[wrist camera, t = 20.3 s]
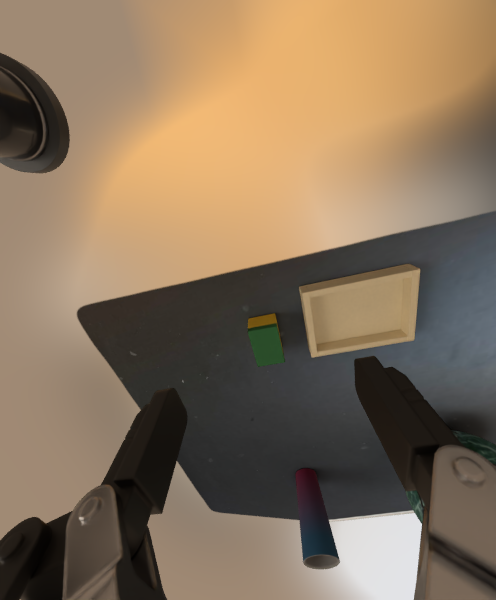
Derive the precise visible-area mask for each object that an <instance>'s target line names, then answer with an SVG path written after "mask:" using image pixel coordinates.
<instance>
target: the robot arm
mask: <svg viewBox="0 0 496 600" xmlns="http://www.w3.org/2000/svg"><path fill="white" fill-rule="evenodd" d="M48 140H49V127H48V121H47V117H46V114H45V112H44V109H43V107H42V105H41V103H40V101H39V99H38V98H37V96H36V95H35V93H34V92H33V91H32V89H31V88H30V87H29V86H28V85H27V84H26V83H25V82H24V81H23V80H22V79H21V78H20V77H18V76H17V75H16V74H14V73H13V72H11V71H9V70H7V69H5V68H3V67H1V66H0V158H8V159H11V160H17V161H31V160H34V159H37V158H38V157H40V156H41V155H42V154H43V152H44V151H45V149H46V147H47V144H48ZM354 366H355V387H356V392H357V395H358V398H359V400H360V402H361V404H362V406H363V408H364V410H365V412H366V414H367V416H368V418H369V420H370V422H371V424H372V426H373V428H374V430H375V432H376V434H377V436H378V437H379V439H380V441H381V443H382V445H383V447H384V449H385V451H386V453H387V455H388V457H389V459H390V461H391V463H392V465H393V467H394V469H395V471H396V473H397V475H398V477H399V479H400V481H401V483H402V485H403V487H404V489H405V491H416V490H417V491H418V493H419V495H420V497H421V499H422V500H423V502H424V511H423V521H422V531H421V542H420V552H419V562H418V572H417V582H416V589H415V595H414V600H496V464H493V463H491V462H490V461H489V460H487V459H486V458H485V457H483V456H482V455H480V454H479V453H477V452H475V451H473V450H471V449H468V448H466V447H465V446H464V445H463V444H462V443H461V442H460V441H459V440H458V439H457V437H456V436H455V435H454V434H453V432H452V431H451V430H450V429H449V428H448V426H447V425H446V424H445V423H444V421H443V420H442V419H441V418H440V417H439V415H438V414H437V413H436V412H435V411H434V409H433V408H432V407H431V406H430V404H429V403H428V402H427V401H426V400H424V398H423V396H422V395H421V393H420V392H419V391H418V390H416V388H415V386H414V385H413V384H412V383H411V381H410V380H409V379H408V378H407V376H406V375H404V374H403V373H401V372H400V371H398V370H396V369H395V368H393V367H388V368H384V367H383V366H382V364H381V363H380V362H379V360H378V359H377V358H376V357H375V356H371V357H365V358H358V359H355V361H354ZM186 425H187V412H186V409H185V407H184V405H183V403H182V401H181V399H180V397H179V395H178V393H177V391H176V390H175V389H174V388H170V389H164V390H158V391H156V392H155V393H154V395H153V397H152V400H151V402H150V404H147V405H145V406H144V407H143V409H142V410H141V411H140V412H139V413H138V414H137V416H136V418H135V420H134V421H133V423H132V426H131V427H130V428H131V429H130V430H129V431H128V433H127V435H126V437H125V440H124V441H123V443H122V445H121V447H120V449H119V451H118V453H117V455H116V457H115V459H114V461H113V463H112V465H111V467H110V469H109V471H108V473H107V475H106V477H105V478H104V480H103V482H102V484H101V485H100V486H98V487H96V488H94V489H93V490H91V491H90V492H88V493H87V494H86V495H85V496H84V497H83V498H82V499H81V500H80V501H79V503H78V504H77V505H76V506H75V508H74V510H73V511H71V512H69V513H67V514H65V515H63V516H61V517H59V518H57V519H55V520H53V521H51V522H49V523H44V522H43V521H41V520H40V519H39V518H37V517H32V518H28V519H26V520H24V521H22V522H21V523H19V524H18V525H17V526H15V527H14V528H13V529H11V530H10V531H9V532H8V533H7V534H6V535H5V536H4V537H3V538H2V540H0V600H19V599H21V600H167V599H166V597H165V594H164V591H163V588H162V584H161V580H160V575H159V571H158V566H157V562H156V558H155V553H154V549H153V545H152V540H151V536H150V532H149V528H148V526H147V524H148V520H149V517H150V515H151V514H161V513H162V512H163V508H164V504H165V501H166V497H167V493H168V490H169V486H170V483H171V479H172V475H173V472H174V468H175V465H176V461H177V457H178V454H179V450H180V447H181V443H182V439H183V436H184V432H185V429H186Z"/></svg>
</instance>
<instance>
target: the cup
mask: <svg viewBox="0 0 496 600" xmlns="http://www.w3.org/2000/svg"><path fill="white" fill-rule="evenodd" d="M296 486H297V497H298V508H299V519H300V528H301V529H300V530H301V541H302V552H303V563H304V565H305V566H307V567H309V568H313V569H329V568H333V567H335V566H337V565H338V564H339V563H340V561H339V557H338V553H337V549H336V546H335V542H334V538H333V535H332V531H331V528H330V524H329V520H328V516H327V513H326V509H325V505H324V502H323V498H322V494H321V491H320V487H319V483H318V480H317V476H316V473H315V471H314V470H312V469H309V468H304V469H300V470H298V471H297V472H296Z"/></svg>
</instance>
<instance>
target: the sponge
mask: <svg viewBox="0 0 496 600" xmlns="http://www.w3.org/2000/svg"><path fill="white" fill-rule="evenodd" d="M248 334H249V338H250V341H251V345H252V348H253V352H254V355H255V359H256V362H257V366H258V367H260V366H265V365H271V364H277V363H283V362H285V359H284V353H283V348H282V343H281V338H280V334H279V329H278V324H277V320H276V315H275V313H274V314H269V315H264V316H259V317H254V318H249V319H248Z"/></svg>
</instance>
